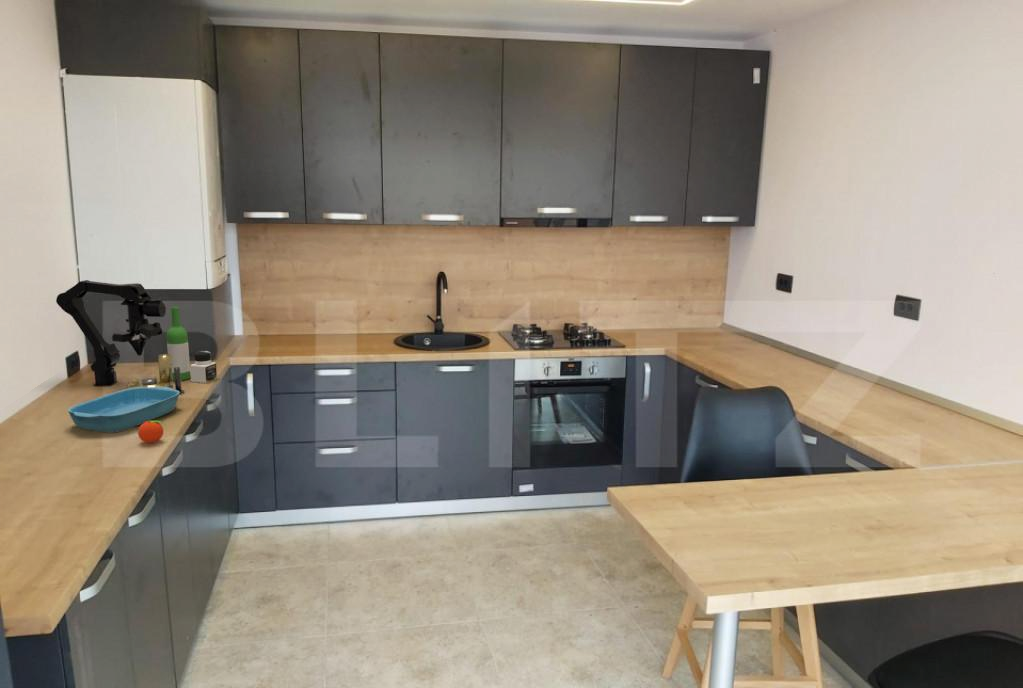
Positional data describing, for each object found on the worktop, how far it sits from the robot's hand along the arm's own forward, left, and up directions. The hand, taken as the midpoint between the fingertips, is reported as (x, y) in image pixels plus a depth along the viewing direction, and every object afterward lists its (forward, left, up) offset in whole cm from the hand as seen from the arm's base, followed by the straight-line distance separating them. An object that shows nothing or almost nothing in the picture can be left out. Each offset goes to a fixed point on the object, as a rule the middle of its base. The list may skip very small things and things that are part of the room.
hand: (139, 355), depth 269 cm
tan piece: (+8, -16, -9) cm, 20 cm away
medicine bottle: (+22, +5, -12) cm, 26 cm away
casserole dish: (+9, -43, -12) cm, 45 cm away
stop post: (+17, -13, -12) cm, 24 cm away
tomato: (+24, -67, -12) cm, 72 cm away
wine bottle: (+12, +8, -12) cm, 19 cm away
